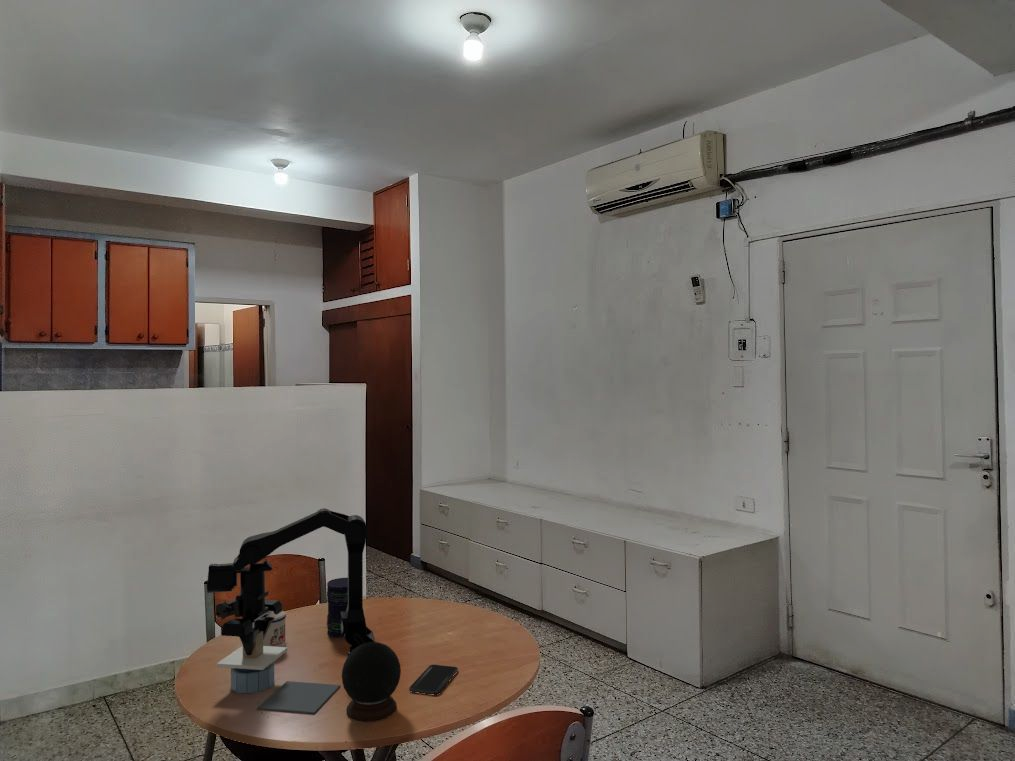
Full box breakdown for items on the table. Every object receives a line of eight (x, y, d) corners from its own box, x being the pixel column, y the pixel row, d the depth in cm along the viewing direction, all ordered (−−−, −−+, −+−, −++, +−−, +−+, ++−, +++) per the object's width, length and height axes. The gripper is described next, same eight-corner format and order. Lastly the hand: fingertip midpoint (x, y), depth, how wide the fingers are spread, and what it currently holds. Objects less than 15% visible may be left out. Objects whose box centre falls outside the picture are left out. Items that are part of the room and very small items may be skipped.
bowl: (281, 676, 173) (281, 659, 173) (260, 694, 163) (260, 675, 163) (245, 674, 175) (245, 656, 175) (222, 691, 165) (222, 672, 165)
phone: (407, 689, 164) (431, 664, 179) (407, 693, 164) (431, 668, 179) (438, 692, 162) (459, 667, 177) (438, 697, 162) (459, 671, 177)
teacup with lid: (274, 655, 187) (274, 612, 187) (245, 652, 189) (245, 610, 189) (297, 639, 199) (297, 599, 199) (270, 636, 201) (270, 596, 201)
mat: (340, 686, 167) (340, 685, 167) (314, 714, 153) (314, 712, 153) (286, 682, 170) (286, 681, 170) (256, 709, 156) (256, 707, 156)
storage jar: (349, 639, 198) (349, 588, 198) (320, 636, 201) (320, 585, 201) (366, 628, 207) (366, 578, 207) (338, 624, 210) (338, 576, 210)
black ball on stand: (372, 691, 165) (372, 629, 165) (412, 706, 157) (412, 641, 157) (329, 713, 154) (329, 646, 154) (370, 730, 146) (370, 660, 146)
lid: (287, 650, 174) (287, 625, 174) (262, 670, 162) (262, 643, 162) (244, 647, 176) (244, 623, 176) (216, 666, 164) (216, 640, 164)
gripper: (243, 577, 180) (243, 636, 180) (200, 599, 161) (200, 665, 161) (282, 578, 178) (283, 638, 178) (243, 601, 159) (243, 668, 159)
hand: (253, 652), depth 169 cm, fingers closed on lid, 3 cm apart
